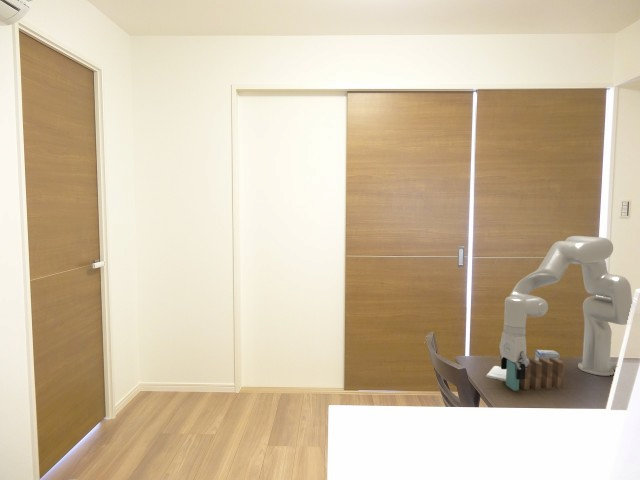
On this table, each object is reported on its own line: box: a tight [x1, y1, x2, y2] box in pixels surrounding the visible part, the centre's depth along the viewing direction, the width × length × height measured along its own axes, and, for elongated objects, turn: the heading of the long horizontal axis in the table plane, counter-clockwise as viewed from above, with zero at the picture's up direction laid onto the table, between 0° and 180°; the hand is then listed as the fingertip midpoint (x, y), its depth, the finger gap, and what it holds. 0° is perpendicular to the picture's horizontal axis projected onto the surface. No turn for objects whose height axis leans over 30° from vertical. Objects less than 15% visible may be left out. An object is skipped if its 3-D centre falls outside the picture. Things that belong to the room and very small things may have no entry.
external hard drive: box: [486, 365, 507, 383], centre depth 166 cm, size 2×8×12 cm
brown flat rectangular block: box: [539, 358, 553, 390], centre depth 155 cm, size 2×5×10 cm, turn 8°
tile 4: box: [519, 363, 531, 391], centre depth 154 cm, size 2×5×10 cm, turn 7°
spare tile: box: [505, 360, 520, 392], centre depth 154 cm, size 2×5×10 cm, turn 8°
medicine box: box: [534, 349, 561, 362], centre depth 170 cm, size 8×4×9 cm, turn 84°
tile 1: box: [550, 358, 564, 389], centre depth 156 cm, size 2×5×10 cm, turn 7°
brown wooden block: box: [528, 358, 542, 390], centre depth 155 cm, size 2×5×10 cm, turn 7°
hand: (512, 373), depth 153 cm, fingers open, 9 cm apart
